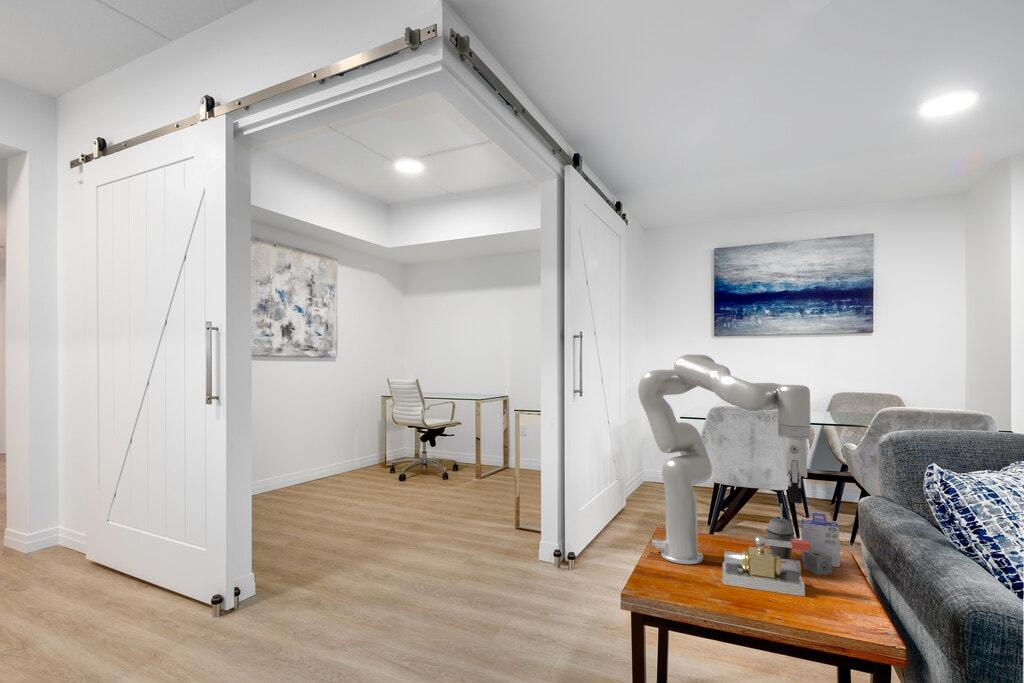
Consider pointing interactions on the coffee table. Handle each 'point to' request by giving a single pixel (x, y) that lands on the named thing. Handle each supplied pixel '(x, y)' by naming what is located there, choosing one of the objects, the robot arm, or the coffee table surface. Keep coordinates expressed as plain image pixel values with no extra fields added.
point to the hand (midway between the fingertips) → (794, 501)
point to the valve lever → (785, 543)
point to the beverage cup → (780, 535)
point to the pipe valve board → (763, 582)
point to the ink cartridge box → (822, 537)
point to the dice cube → (817, 562)
